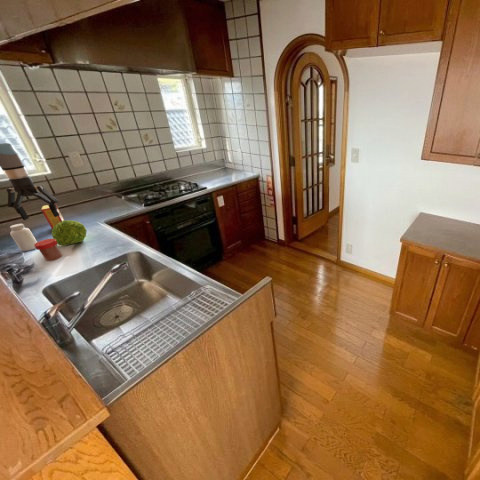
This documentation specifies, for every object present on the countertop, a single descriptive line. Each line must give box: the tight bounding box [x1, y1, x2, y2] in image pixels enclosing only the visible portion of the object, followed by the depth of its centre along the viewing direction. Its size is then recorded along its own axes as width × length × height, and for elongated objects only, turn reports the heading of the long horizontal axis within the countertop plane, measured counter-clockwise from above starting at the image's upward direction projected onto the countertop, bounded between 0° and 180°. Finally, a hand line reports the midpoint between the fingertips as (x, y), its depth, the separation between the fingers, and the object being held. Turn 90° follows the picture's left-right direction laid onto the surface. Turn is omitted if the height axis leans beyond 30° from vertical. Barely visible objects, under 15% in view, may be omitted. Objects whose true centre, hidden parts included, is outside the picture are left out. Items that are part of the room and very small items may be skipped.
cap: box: [34, 238, 58, 251], centre depth 138 cm, size 8×8×2 cm
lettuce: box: [51, 219, 88, 247], centre depth 160 cm, size 15×25×16 cm
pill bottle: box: [9, 223, 38, 252], centre depth 153 cm, size 8×8×15 cm
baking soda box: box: [40, 204, 65, 230], centre depth 179 cm, size 10×6×16 cm
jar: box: [38, 244, 64, 262], centre depth 140 cm, size 7×7×11 cm
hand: (41, 217), depth 137 cm, fingers open, 13 cm apart
